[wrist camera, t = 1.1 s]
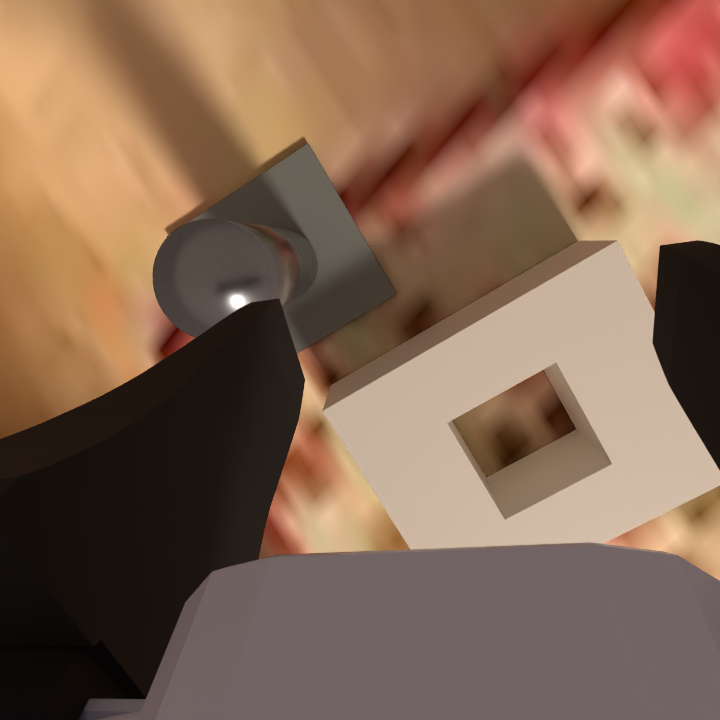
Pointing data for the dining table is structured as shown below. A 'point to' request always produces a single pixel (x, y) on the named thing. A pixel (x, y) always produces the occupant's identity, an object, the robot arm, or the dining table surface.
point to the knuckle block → (506, 369)
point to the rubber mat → (312, 243)
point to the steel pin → (228, 270)
